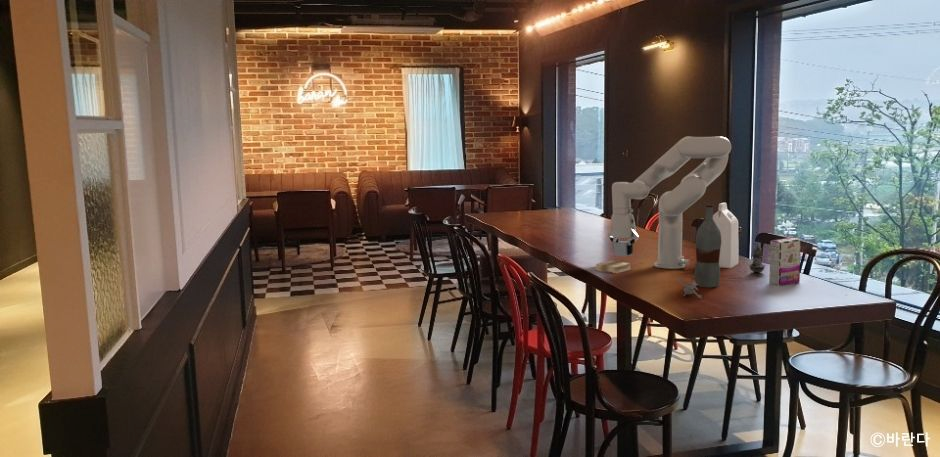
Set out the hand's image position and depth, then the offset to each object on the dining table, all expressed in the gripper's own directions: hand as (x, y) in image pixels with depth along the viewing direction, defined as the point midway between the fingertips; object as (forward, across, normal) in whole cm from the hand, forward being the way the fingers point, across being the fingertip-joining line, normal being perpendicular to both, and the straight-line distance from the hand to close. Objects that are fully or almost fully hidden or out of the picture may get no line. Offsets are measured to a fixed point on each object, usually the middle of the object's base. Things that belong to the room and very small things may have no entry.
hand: (623, 253), depth 305 cm
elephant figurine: (+7, -47, +35) cm, 59 cm away
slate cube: (+1, 0, 0) cm, 1 cm away
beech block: (+5, -2, +11) cm, 12 cm away
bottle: (+7, -44, +13) cm, 46 cm away
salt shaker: (+8, -50, -17) cm, 53 cm away
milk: (+8, -30, -28) cm, 42 cm away
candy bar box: (+8, -64, -8) cm, 65 cm away
